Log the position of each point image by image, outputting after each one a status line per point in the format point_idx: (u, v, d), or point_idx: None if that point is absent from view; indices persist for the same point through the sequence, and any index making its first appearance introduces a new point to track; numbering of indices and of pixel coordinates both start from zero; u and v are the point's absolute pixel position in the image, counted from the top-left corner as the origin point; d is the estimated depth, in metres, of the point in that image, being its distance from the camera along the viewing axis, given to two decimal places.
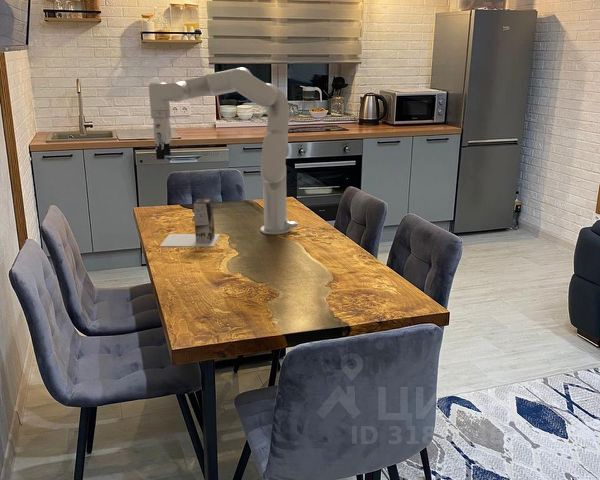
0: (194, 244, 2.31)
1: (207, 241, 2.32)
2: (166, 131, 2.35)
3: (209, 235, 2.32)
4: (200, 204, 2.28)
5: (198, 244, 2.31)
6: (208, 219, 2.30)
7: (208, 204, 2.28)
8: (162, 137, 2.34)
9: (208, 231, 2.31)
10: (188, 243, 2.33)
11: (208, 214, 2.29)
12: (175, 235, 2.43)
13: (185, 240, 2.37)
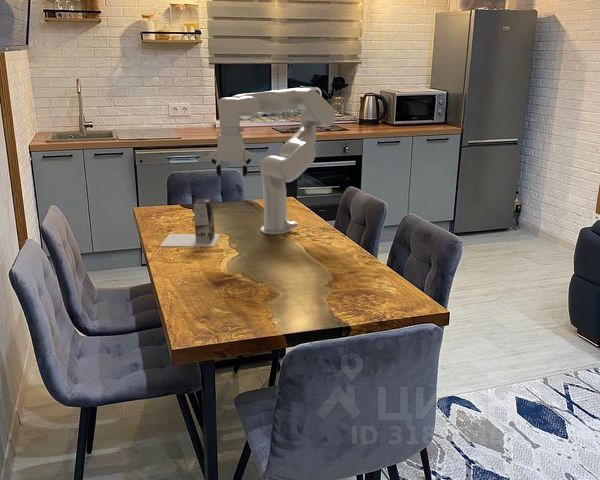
0: (194, 244, 2.31)
1: (207, 241, 2.32)
2: None
3: (209, 235, 2.32)
4: (200, 204, 2.28)
5: (198, 244, 2.31)
6: (208, 219, 2.30)
7: (208, 204, 2.28)
8: None
9: (208, 231, 2.31)
10: (188, 243, 2.33)
11: (208, 214, 2.29)
12: (175, 235, 2.43)
13: (185, 240, 2.37)
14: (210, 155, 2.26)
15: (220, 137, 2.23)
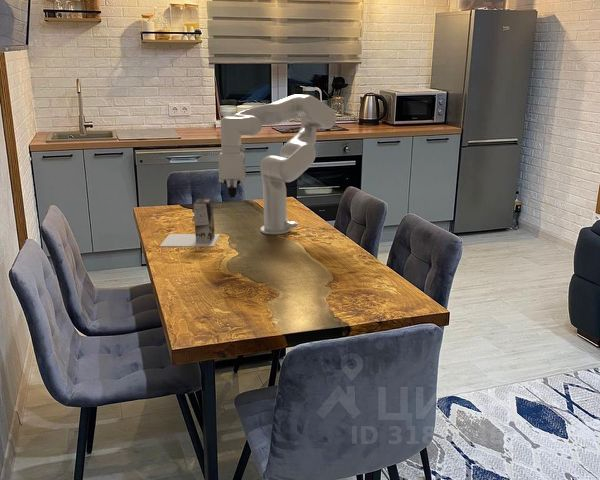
0: (194, 244, 2.31)
1: (207, 241, 2.32)
2: None
3: (209, 235, 2.32)
4: (200, 204, 2.28)
5: (198, 244, 2.31)
6: (208, 219, 2.30)
7: (208, 204, 2.28)
8: (245, 171, 2.29)
9: (208, 231, 2.31)
10: (188, 243, 2.33)
11: (208, 214, 2.29)
12: (175, 235, 2.43)
13: (185, 240, 2.37)
14: (219, 180, 2.29)
15: (221, 156, 2.24)
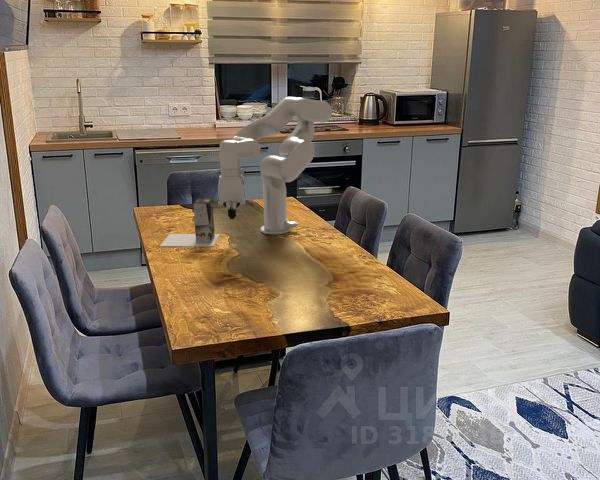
0: (194, 244, 2.31)
1: (207, 241, 2.32)
2: None
3: (209, 235, 2.32)
4: (200, 204, 2.28)
5: (198, 244, 2.31)
6: (208, 219, 2.30)
7: (208, 204, 2.28)
8: (244, 193, 2.32)
9: (208, 231, 2.31)
10: (188, 243, 2.33)
11: (208, 214, 2.29)
12: (175, 235, 2.43)
13: (185, 240, 2.37)
14: (219, 202, 2.31)
15: (221, 179, 2.27)
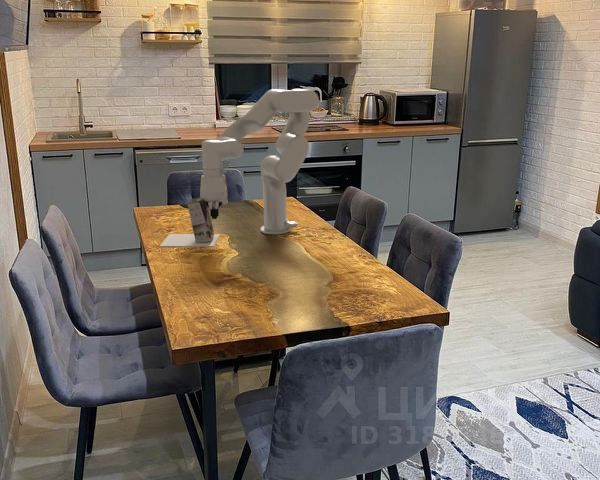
0: (194, 244, 2.31)
1: (206, 239, 2.32)
2: None
3: (207, 233, 2.31)
4: (194, 203, 2.28)
5: (198, 244, 2.31)
6: (204, 217, 2.30)
7: (202, 202, 2.28)
8: None
9: (206, 229, 2.31)
10: (188, 243, 2.33)
11: (203, 212, 2.29)
12: (175, 235, 2.43)
13: (185, 240, 2.37)
14: None
15: (203, 178, 2.27)
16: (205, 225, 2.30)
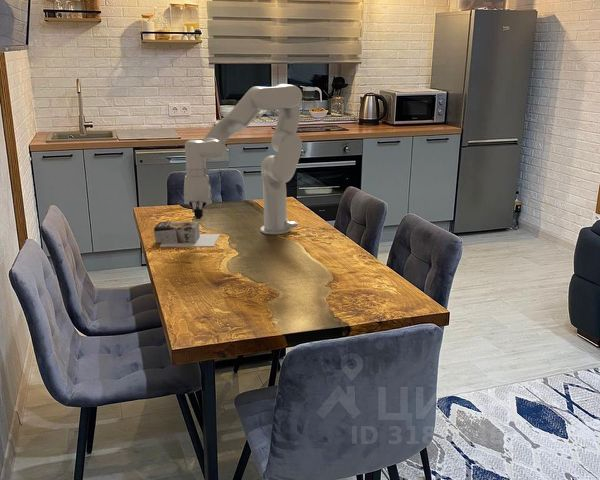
0: (194, 244, 2.31)
1: (193, 231, 2.31)
2: None
3: (186, 229, 2.31)
4: (155, 236, 2.32)
5: (198, 244, 2.31)
6: (170, 229, 2.31)
7: (155, 228, 2.31)
8: None
9: (182, 230, 2.31)
10: (188, 243, 2.33)
11: (165, 229, 2.31)
12: None
13: None
14: (185, 202, 2.32)
15: (186, 178, 2.27)
16: (178, 230, 2.31)
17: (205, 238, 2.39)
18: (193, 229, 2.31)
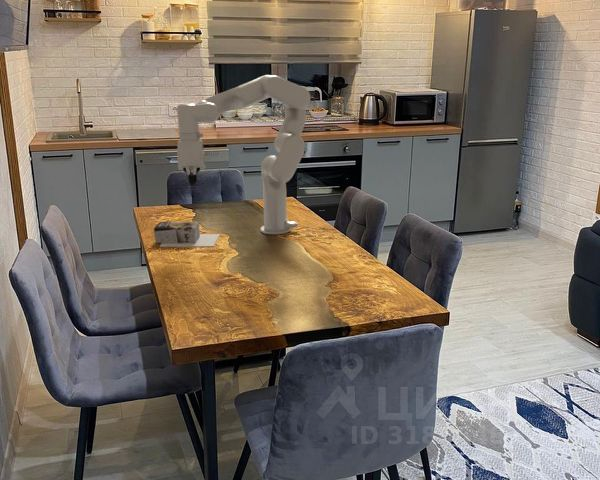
0: (194, 244, 2.31)
1: (193, 231, 2.31)
2: None
3: (186, 229, 2.31)
4: (155, 236, 2.32)
5: (198, 244, 2.31)
6: (170, 229, 2.31)
7: (155, 228, 2.31)
8: (204, 158, 2.29)
9: (182, 230, 2.31)
10: (188, 243, 2.33)
11: (165, 229, 2.31)
12: None
13: None
14: (179, 167, 2.28)
15: (179, 143, 2.24)
16: (178, 230, 2.31)
17: (205, 238, 2.39)
18: (193, 229, 2.31)
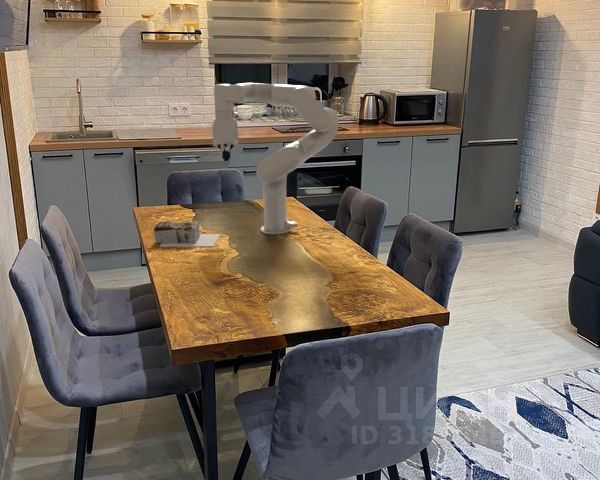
0: (194, 244, 2.31)
1: (193, 231, 2.31)
2: None
3: (186, 229, 2.31)
4: (155, 236, 2.32)
5: (198, 244, 2.31)
6: (170, 229, 2.31)
7: (155, 228, 2.31)
8: None
9: (182, 230, 2.31)
10: (188, 243, 2.33)
11: (165, 229, 2.31)
12: None
13: None
14: (214, 144, 2.43)
15: (215, 121, 2.38)
16: (178, 230, 2.31)
17: (205, 238, 2.39)
18: (193, 229, 2.31)
